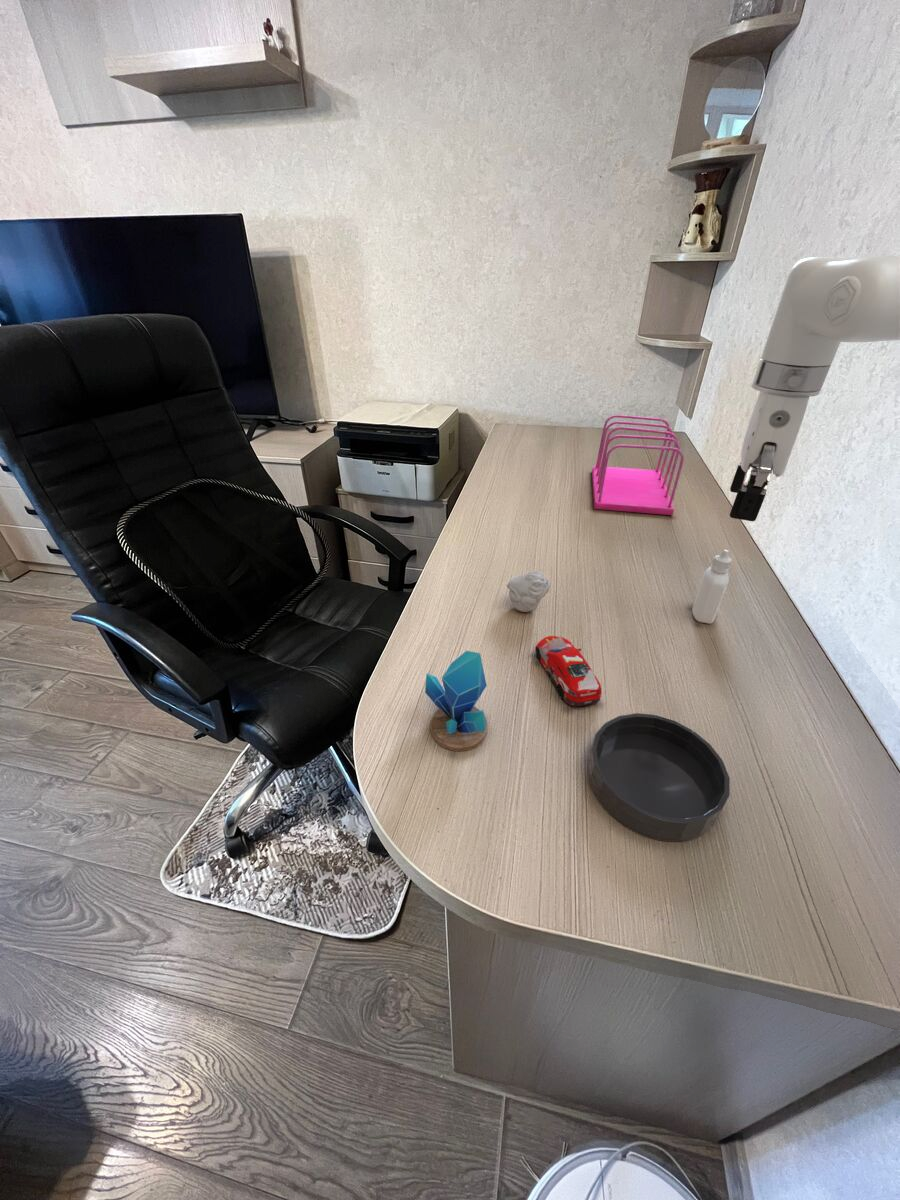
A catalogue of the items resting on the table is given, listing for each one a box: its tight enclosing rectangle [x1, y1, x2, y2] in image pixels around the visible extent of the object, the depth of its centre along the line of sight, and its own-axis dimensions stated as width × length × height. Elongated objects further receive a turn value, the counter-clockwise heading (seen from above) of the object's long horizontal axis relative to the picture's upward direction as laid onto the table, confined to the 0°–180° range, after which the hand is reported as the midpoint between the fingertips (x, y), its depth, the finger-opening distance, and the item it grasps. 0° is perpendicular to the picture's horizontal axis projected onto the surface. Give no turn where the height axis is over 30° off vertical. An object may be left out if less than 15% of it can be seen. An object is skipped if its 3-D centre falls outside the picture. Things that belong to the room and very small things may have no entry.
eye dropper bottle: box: [691, 549, 733, 625], centre depth 79 cm, size 4×6×12 cm
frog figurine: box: [506, 570, 552, 613], centre depth 82 cm, size 6×7×7 cm
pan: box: [587, 712, 731, 843], centre depth 55 cm, size 14×14×4 cm
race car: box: [535, 635, 602, 708], centre depth 69 cm, size 13×5×4 cm, turn 13°
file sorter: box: [591, 414, 685, 516], centre depth 120 cm, size 17×25×16 cm
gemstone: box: [424, 650, 489, 752], centre depth 59 cm, size 7×9×12 cm
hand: (741, 505), depth 72 cm, fingers open, 9 cm apart
